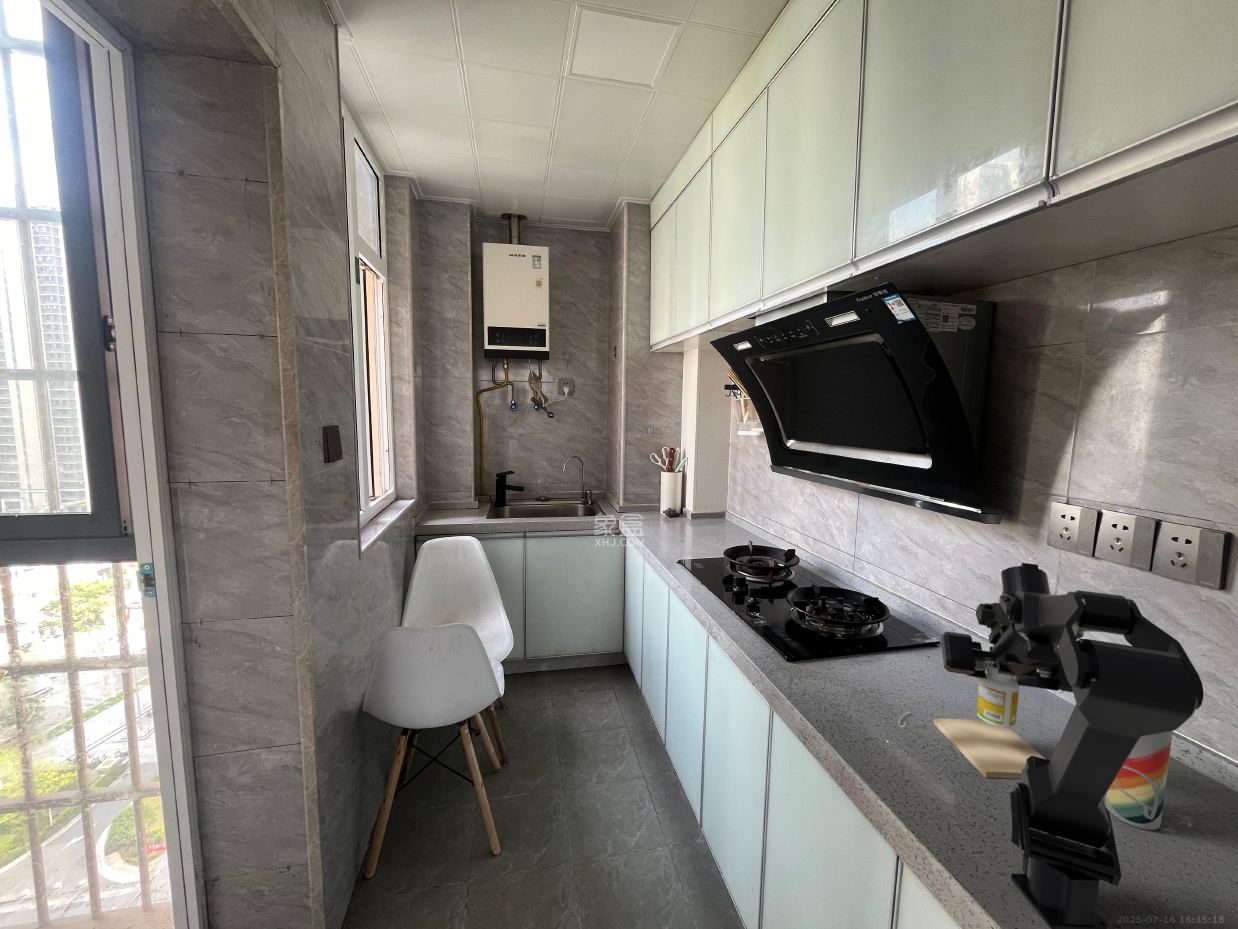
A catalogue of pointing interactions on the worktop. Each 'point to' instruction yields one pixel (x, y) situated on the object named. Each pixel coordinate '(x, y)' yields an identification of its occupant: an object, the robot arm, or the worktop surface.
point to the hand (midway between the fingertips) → (996, 678)
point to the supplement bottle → (998, 699)
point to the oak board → (988, 746)
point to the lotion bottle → (1142, 783)
